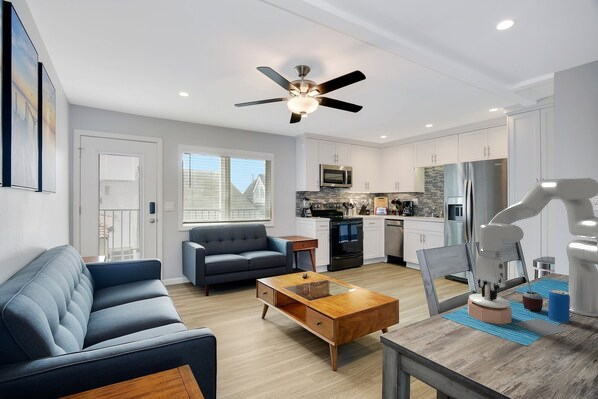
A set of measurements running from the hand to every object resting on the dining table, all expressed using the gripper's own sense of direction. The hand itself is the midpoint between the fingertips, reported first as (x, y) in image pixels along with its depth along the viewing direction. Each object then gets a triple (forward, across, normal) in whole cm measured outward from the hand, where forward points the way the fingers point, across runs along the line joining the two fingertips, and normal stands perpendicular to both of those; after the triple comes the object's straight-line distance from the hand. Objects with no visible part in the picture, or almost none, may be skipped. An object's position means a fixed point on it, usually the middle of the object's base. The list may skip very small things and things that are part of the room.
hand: (489, 297), depth 124 cm
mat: (+8, -14, -10) cm, 19 cm away
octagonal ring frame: (+8, 0, 0) cm, 8 cm away
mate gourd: (+9, -1, -25) cm, 26 cm away
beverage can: (+9, -12, -24) cm, 28 cm away
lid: (+2, 0, 0) cm, 2 cm away
